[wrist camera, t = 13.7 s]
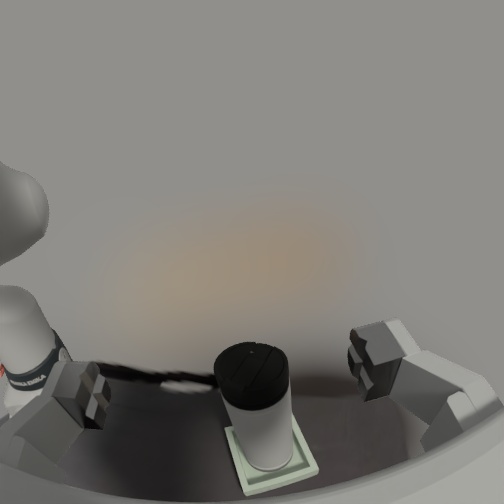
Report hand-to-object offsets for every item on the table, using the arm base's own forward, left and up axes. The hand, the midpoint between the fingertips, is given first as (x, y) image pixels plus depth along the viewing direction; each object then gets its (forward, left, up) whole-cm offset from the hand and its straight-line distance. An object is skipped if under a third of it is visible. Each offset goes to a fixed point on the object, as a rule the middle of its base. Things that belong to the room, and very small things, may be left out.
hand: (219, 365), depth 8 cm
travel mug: (+2, +10, -32) cm, 33 cm away
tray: (+2, +10, -32) cm, 34 cm away
